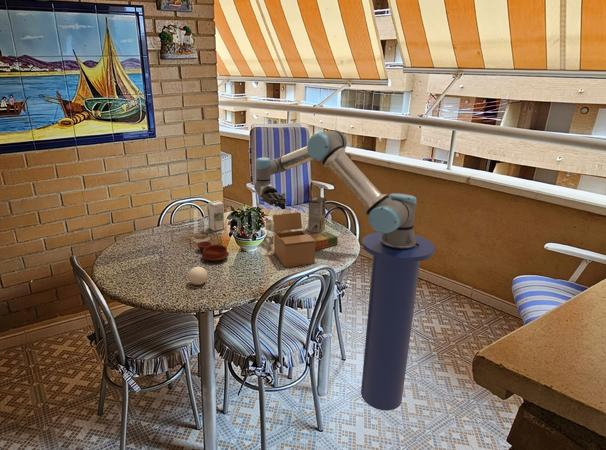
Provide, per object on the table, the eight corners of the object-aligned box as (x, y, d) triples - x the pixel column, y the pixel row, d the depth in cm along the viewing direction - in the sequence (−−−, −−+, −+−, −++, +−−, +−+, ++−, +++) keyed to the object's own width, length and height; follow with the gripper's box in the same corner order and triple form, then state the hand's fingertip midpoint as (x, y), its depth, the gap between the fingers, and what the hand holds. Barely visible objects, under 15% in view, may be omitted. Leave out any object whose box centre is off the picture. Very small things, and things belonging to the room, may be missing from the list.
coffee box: (313, 225, 215) (314, 196, 209) (325, 227, 212) (326, 197, 206) (307, 231, 207) (308, 200, 202) (319, 233, 204) (320, 202, 199)
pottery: (209, 266, 169) (208, 257, 168) (189, 251, 185) (189, 242, 184) (233, 260, 175) (233, 250, 174) (212, 245, 191) (212, 236, 190)
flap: (274, 231, 178) (274, 231, 178) (302, 228, 181) (301, 228, 182) (272, 215, 178) (272, 215, 178) (300, 212, 181) (300, 212, 181)
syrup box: (218, 226, 216) (217, 199, 211) (224, 229, 211) (223, 202, 207) (209, 228, 213) (207, 201, 208) (214, 231, 208) (213, 204, 204)
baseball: (212, 282, 156) (211, 266, 154) (197, 289, 151) (196, 273, 149) (200, 277, 161) (199, 261, 158) (185, 284, 155) (184, 268, 153)
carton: (299, 246, 189) (299, 237, 187) (326, 239, 197) (326, 230, 195) (310, 252, 182) (310, 243, 181) (337, 244, 190) (338, 235, 188)
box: (274, 253, 182) (274, 231, 178) (301, 249, 185) (302, 228, 181) (285, 267, 168) (285, 244, 165) (314, 263, 171) (315, 240, 168)
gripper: (280, 199, 207) (297, 213, 186) (256, 201, 204) (269, 215, 183) (280, 184, 205) (297, 197, 183) (255, 186, 202) (269, 199, 180)
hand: (283, 206), depth 183 cm, fingers closed
